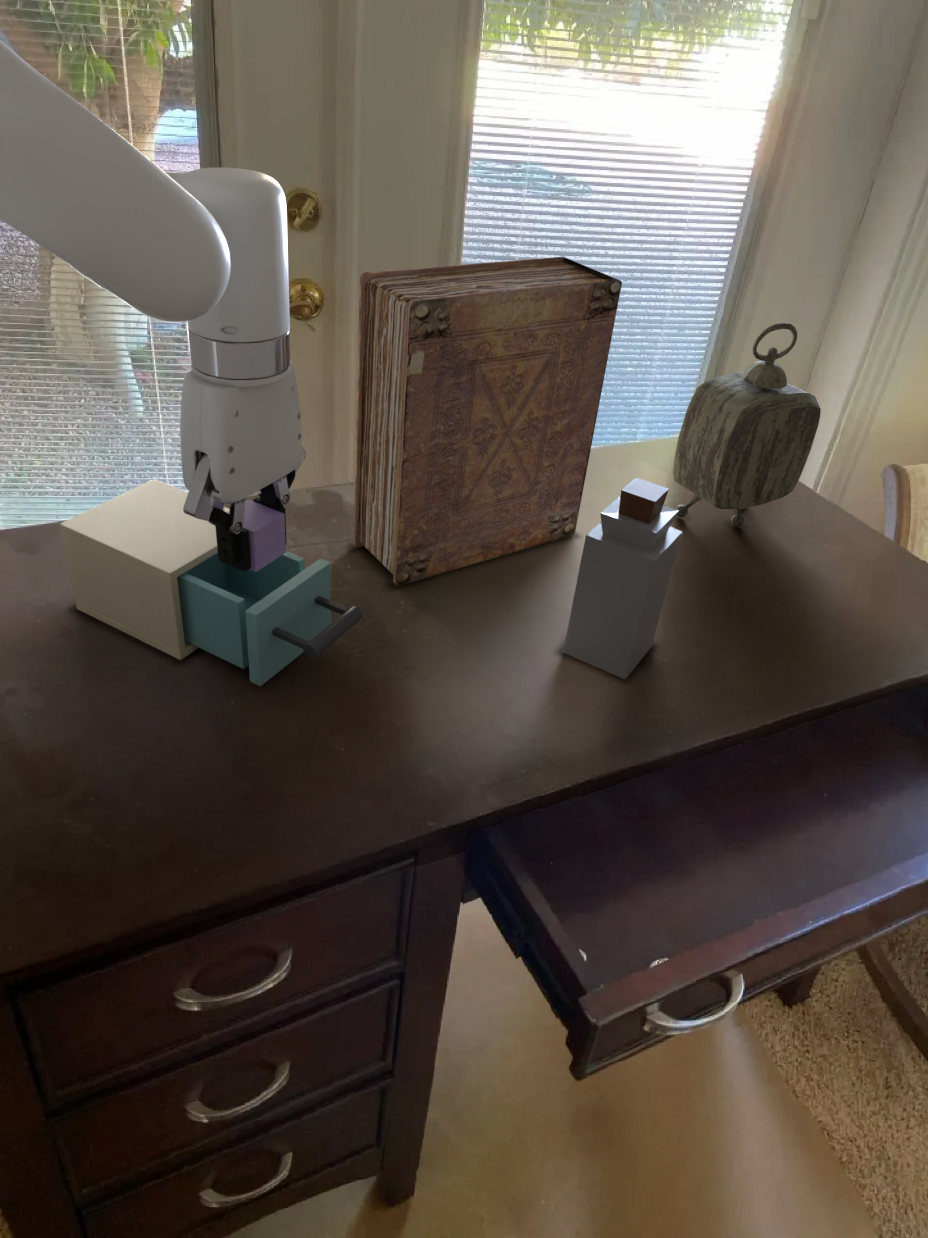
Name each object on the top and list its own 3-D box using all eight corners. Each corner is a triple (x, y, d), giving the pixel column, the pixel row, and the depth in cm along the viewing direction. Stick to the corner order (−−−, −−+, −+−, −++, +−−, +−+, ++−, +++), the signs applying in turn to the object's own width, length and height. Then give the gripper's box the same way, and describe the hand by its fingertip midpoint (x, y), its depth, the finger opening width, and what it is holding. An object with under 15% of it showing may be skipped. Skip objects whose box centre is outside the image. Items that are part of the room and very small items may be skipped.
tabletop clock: (738, 493, 120) (795, 306, 106) (789, 524, 114) (857, 331, 100) (659, 513, 113) (708, 317, 99) (709, 548, 108) (769, 344, 93)
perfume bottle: (651, 646, 90) (694, 488, 80) (625, 679, 85) (666, 516, 75) (592, 621, 93) (626, 464, 82) (563, 652, 88) (594, 490, 78)
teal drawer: (372, 648, 84) (375, 580, 80) (304, 708, 77) (303, 636, 72) (231, 586, 91) (226, 519, 86) (155, 635, 83) (145, 565, 78)
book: (393, 587, 95) (407, 301, 77) (352, 546, 101) (357, 272, 83) (575, 535, 107) (623, 278, 90) (529, 501, 113) (566, 254, 96)
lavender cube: (256, 572, 76) (254, 532, 74) (220, 556, 78) (217, 517, 75) (286, 552, 79) (284, 513, 77) (251, 538, 81) (248, 499, 78)
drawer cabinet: (263, 602, 90) (259, 520, 85) (180, 660, 82) (169, 573, 76) (164, 558, 95) (154, 478, 89) (76, 609, 87) (58, 523, 81)
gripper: (273, 314, 75) (280, 504, 86) (119, 367, 63) (150, 581, 74) (345, 335, 73) (343, 529, 83) (199, 395, 60) (219, 613, 71)
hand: (253, 551), depth 78 cm, fingers closed on lavender cube, 4 cm apart
